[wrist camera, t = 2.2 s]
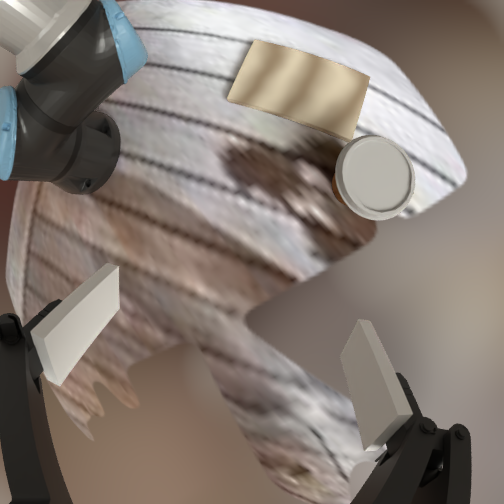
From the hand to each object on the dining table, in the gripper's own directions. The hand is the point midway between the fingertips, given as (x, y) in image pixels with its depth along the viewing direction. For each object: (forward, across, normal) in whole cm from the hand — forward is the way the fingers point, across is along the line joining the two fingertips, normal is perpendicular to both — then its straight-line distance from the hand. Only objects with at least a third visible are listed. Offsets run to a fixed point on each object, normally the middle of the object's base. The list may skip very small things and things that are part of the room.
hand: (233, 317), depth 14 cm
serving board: (+31, +3, +19) cm, 37 cm away
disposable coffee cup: (+28, +13, +6) cm, 31 cm away
